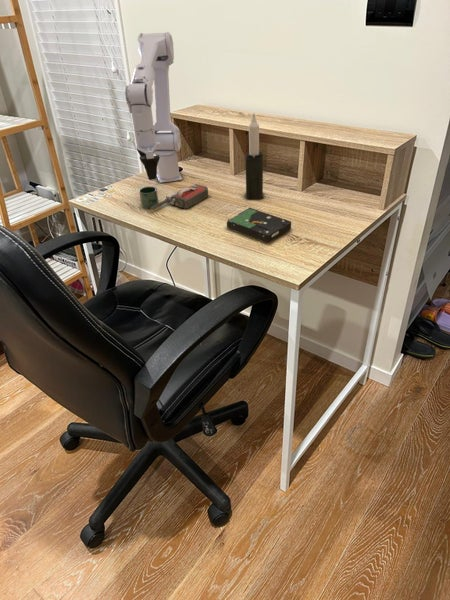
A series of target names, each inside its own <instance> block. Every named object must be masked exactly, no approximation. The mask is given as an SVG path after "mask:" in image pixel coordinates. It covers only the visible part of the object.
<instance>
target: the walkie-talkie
mask: <svg viewBox="0 0 450 600" xmlns="http://www.w3.org/2000/svg"><path fill="white" fill-rule="evenodd" d="M208 197H209V187H207V186H205V185H202V184H198V183H196V184H195V183H194V184H191V186H189V187H188V186H185V187H184V188H182V189H179V190H177V191H174V192H173V193H170V194H168V195H166V196H165V199H164V200H162V201H159V203H158V204H156V205H154V206H152V207H151V208H150V209H149V210H151V211H154V210H157V209H158V208H160V207H162V206H164V205H165V204H169V203H170V205H172V206H175V207H177V208H182V209H185V210H186V209H189V208H191V207H192V206H194V205H196V204H198V203H200V202H201V201H203V200H205V199H207V198H208Z"/></svg>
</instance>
